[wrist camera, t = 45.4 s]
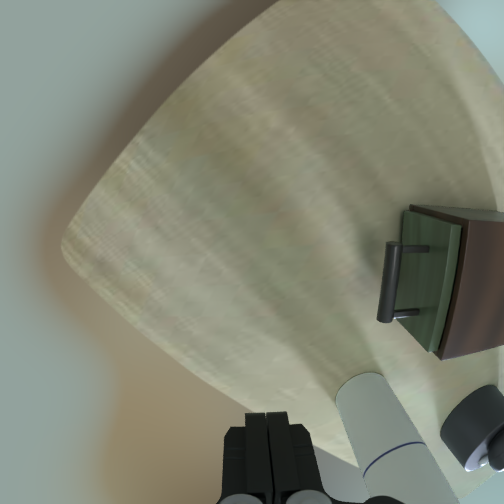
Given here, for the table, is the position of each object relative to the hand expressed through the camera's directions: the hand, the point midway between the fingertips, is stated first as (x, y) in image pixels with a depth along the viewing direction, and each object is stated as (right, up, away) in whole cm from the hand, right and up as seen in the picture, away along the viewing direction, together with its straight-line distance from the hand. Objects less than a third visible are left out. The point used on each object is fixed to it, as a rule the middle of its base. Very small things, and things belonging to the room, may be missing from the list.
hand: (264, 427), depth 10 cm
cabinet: (+23, +5, +21) cm, 32 cm away
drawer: (+19, +5, +20) cm, 28 cm away
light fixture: (+38, -23, +29) cm, 53 cm away
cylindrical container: (+14, -12, +25) cm, 31 cm away
